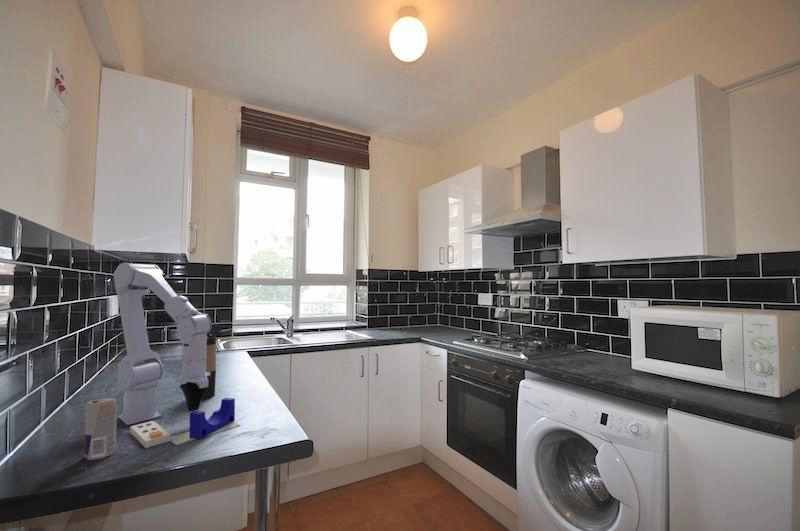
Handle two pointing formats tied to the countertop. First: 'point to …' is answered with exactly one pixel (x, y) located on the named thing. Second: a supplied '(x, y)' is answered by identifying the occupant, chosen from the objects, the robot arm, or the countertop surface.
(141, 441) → the power strip
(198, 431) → the cable clip
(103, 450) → the energy drink
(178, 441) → the mat
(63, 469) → the countertop surface
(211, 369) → the travel mug
